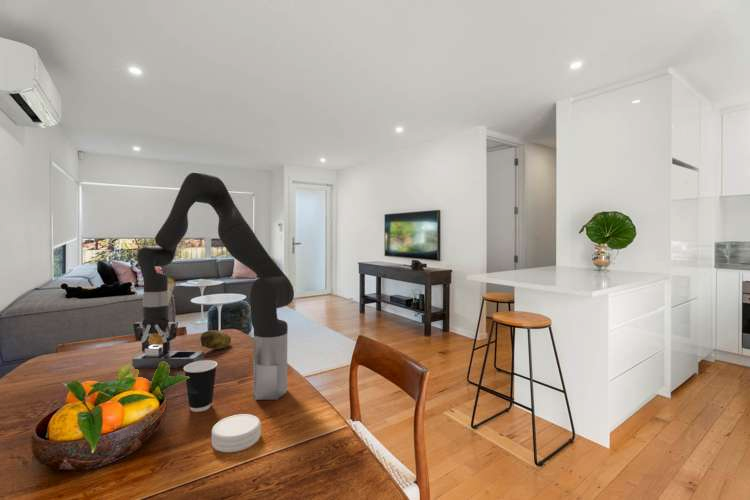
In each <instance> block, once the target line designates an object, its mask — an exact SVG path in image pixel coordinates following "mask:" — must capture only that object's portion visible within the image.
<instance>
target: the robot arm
mask: <svg viewBox="0 0 750 500" xmlns="http://www.w3.org/2000/svg"><path fill="white" fill-rule="evenodd" d="M195 203H202V204H208V206H209V205H210V206H211V208H212V209H213V210H214V211H215V213H216V214H217V216H218V217H217V218H218V225H217V234H218V237H219V239H220V241H221V243H222V244H223V246H224V248H225V250H226V251H227V252H228V254H230V256H232V258H233V259H235V260H236V261H238V262H240V263H241V264H243V266H245V267H246V268H247V269H250V271H252V272H253V273H254V274H255V275H256V276H257V277H258V279H256V280H254V281H253V283H252V285H251V288H250V293H249V306H250V307H249V308H250V310H249V311H250V323H251V325H252V328H253V396H254V399H255V400H256V401H257V400H260V401H261V400H262V401H263V400H266V401H268V400H271V401H272V400H279V398H280V397H283V396H284V395H286V394H287V392H288V329H289V328H288V326H289V325H288V322H286V321H285V320H282V319H279V318H278V312H277V311H278V309H279V308H284V307H286V306H289V305H290V304H291V303H292V302H293V300H294V298H295V297H294V296H295V291H294V287H293V284H292V283H291V281H290V279H289V278H288V276H287V275H286V274H285V273H284V272H283V270H282V269H280V267H279V266H278V265H277V263H275V260H273V259H272V257H271V256H270V254H269V253H268V251H267V250H266V249H265V247H264V245H262V243H261V242H260V240H259V239H258V237H257V236H256V233H255V232H254V231H253V229H252V228H251V226H250V225H249V223H248V222H247V221H246V220H245V218H244V217H243V214H242V213H241V211H240V210H239V209H238V206H237V205H236V204H235V202H234V200H233V198H232V196H231V195H230V192H229V191H228V188H227V186H226V185H225V183H224V182H223V181H222V179H220V178H219V177H218V176H215V175H211V174H207V173H203V172H199V171H193V172H190V173H189V174H188V175H187V176H186V177H185V178H184V180H183V181H182V184H181V186H180V188H179V191H178V193H177V195H176V198H175V199H174V202H173V204H172V207H171V210H170V212H169V214H168V216H167V218H166V220H165V221H164V223H163V224H162V226H161V227H160V229H159V230H158V232H157V233H156V235H155V237H154V241H155V243H156V245H153V246H152V245H151V246H150V245H145V246H143V247H141V248H140V249H139V250H138V252H137V255H136V261H137V263H138V267H139V270H140V273H141V276H142V279H143V294H142V318H143V320H142V321H137V322H135V323H133V325H132V326H133V333H134V338H135V341H138V342H139V341H140V342H141V351H142V353H145V348H147V347H149V346H150V343H149V338H150V336H151V334H153V333H155V334H159V335H160V337H162V339H163V341H164V342H163V353H166V352H168V351H170V349H171V345H170V344H171V343H170V342H171V341H173V340H175V339H176V338H177V333H178V327H179V326H178V325H179V323H178V322H177V321H174V322H173V321H170V320H169V310H170V306H169V300H168V279H167V277H168V276H167V274H165V273H160V272H158V271H157V269H156V267H165V266H168V265H170V264H171V263H172V262H173V260H174V258H175V255H176V252H177V248H178V246H179V244H180V243H181V241H182V240H183V238H184V237H185V235H186V234H187V232H188V229H189V219H188V217H189V216H188V215H189V214H188V213H189V211H190V209H191V208H192V206H193V205H194V204H195ZM168 325H169V332H168V330H167V326H168ZM143 328H144V329H145V330H144V332H143ZM163 332H164V333H163Z"/></svg>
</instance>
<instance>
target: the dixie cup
mask: <svg viewBox="0 0 750 500" xmlns="http://www.w3.org/2000/svg"><path fill="white" fill-rule="evenodd" d="M217 366H218V362H216V361H215V360H209V359H207V360H205V359H204V360H203V361H197V362H193V363H190V364H187V365H186V366H185V367H184V368H182V369H183V371H184V376H189V377H190V378H189V379H187V380H186V379H185V384H186V391H187V400H188V406H189V407H190V411H191V412H204V411H207V410H208V409H210V408H211V407H212V403H213V399H214V390H215V389H214V388H215V381H216V374H217ZM210 406H211V407H210Z"/></svg>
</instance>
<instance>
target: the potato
mask: <svg viewBox="0 0 750 500" xmlns="http://www.w3.org/2000/svg"><path fill="white" fill-rule="evenodd" d="M231 341H232V337H231V336H230V335H229V334H227V333H223V332H219V331H217V330H213V329H211V330H206V331H204V332H203V333H201V335H200V343H201V347H205V348H207V349H214V350H217V349H218V350H223V349H222V348H224V349H226V348H228V347H229V346H230V345H231ZM227 346H228V347H227ZM225 347H226V348H225Z"/></svg>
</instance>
